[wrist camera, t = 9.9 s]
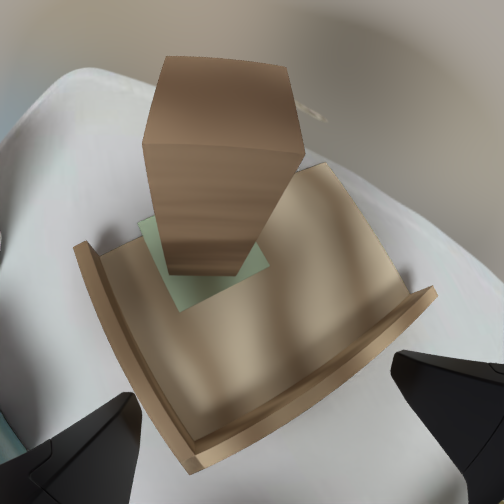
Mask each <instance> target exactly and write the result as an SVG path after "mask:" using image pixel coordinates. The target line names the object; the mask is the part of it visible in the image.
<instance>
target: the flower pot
mask: <svg viewBox="0 0 504 504" xmlns="http://www.w3.org/2000/svg"><path fill="white" fill-rule="evenodd" d="M26 452H27V450H26V449H25V447H24V446H23V445H22V443H21V442H20V441H19V439H18V438H17V436H16V435H15V433H14V432H13V431H12V429H11V428H10V426H9V425H8V423H7V422H6V420H5V418H4V417H3V415H2V413H1V412H0V464H2V463H4V462H6V461H9V460H11V459H13V458H15V457H17V456H20V455H22V454H24V453H26Z"/></svg>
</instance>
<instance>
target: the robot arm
mask: <svg viewBox="0 0 504 504" xmlns="http://www.w3.org/2000/svg"><path fill="white" fill-rule="evenodd" d="M390 372H391V376H392V378H393V380H394V381H395V383H396V385H397V386H398V388H399V390H400V391H401V393H402V395H403V396H404V398H405V400H406V401H407V403H408V404H409V405H410V407H411V408H412V409H413V411H414V412H415V413H416V414H417V416H418V417H419V418H420V420H421V421H422V422H423V423H424V425H425V426H426V427H427V429H428V430H429V431H430V432H431V434H432V435H433V436H434V438H435V439H436V440H437V442H438V443H439V444H440V446H441V447H442V448H443V449H444V451H445V452H446V453H447V455H448V456H449V457H450V459H451V460H452V461H453V463H454V464H455V466H456V467H457V468H458V470H459V471H460V472H461V474H462V475H463V476H464V478H465V480H466V483H467V489H468V503H469V504H499V503H500V502H501V501H502V500H503V501H504V364H497V363H486V362H478V361H471V360H463V359H457V358H450V357H443V356H437V355H431V354H425V353H419V352H414V351H408V350H402V351H399V352H396V353H395V354H394V357H393V362H392V366H391V370H390ZM141 424H142V410H141V408H140V405H139V403H138V400H137V398H136V396H135V394H134V393H133V392H123V393H121V394H119V395H118V396H116V397H115V398H113V399H112V400H110V401H109V402H107V403H106V404H104V405H103V406H101V407H100V408H98V409H97V410H95V411H93V412H92V413H90V414H89V415H87V416H86V417H84V418H83V419H81V420H80V421H78V422H76V423H75V424H73V425H72V426H70V427H69V428H67V429H65V430H64V431H62V432H61V433H59V434H57V435H56V436H54V437H53V438H51V439H49V440H47V441H45V442H44V443H42V444H40V445H39V446H37V447H35V448H33V449H32V450H30V451H28V452H26V453H24V454H22V455H20V456H17V457H15V458H13V459H11V460H9V461H6V462H4V463H2V464H0V504H129V500H130V494H131V489H132V484H133V478H134V473H135V468H136V464H137V459H138V454H139V448H140V436H141Z"/></svg>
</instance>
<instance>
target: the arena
mask: <svg viewBox="0 0 504 504" xmlns="http://www.w3.org/2000/svg"><path fill="white" fill-rule="evenodd" d="M138 226H139V228H140V231H141V233H142V235H143V236H141V237H139V238H137V239H135V240H133V241H130V242H128V243H126V244H124V245H122V246H120V247H118V248H116V249H114V250H112V251H110V252H107V253H105V254H103V255H101V256H99V255H98V254H97V253H96V252H95V250H94V249H93V248H92V247H91V245H90V244H89V243H88V242H87V240H86V241H84V242H82V243H80V244H78V245H76V246H74V247H73V249H74V252H75V256H76V259H77V262H78V265H79V268H80V271H81V274H82V277H83V279H84V282H85V285H86V288H87V290H88V293H89V296H90V298H91V301H92V303H93V306H94V308H95V311H96V313H97V316H98V318H99V320H100V323H101V325H102V327H103V330H104V332H105V334H106V336H107V339H108V341H109V343H110V345H111V347H112V349H113V351H114V353H115V356H116V358H117V360H118V362H119V364H120V366H121V368H122V369H123V371H124V373H125V375H126V377H127V379H128V381H129V383H130V385H131V386H132V388H133V390H134V392H135V394H136V395H137V397H138V399H139V401H140V402H141V404H142V406H143V407H144V409H145V411H146V412H147V414H148V416H149V417H150V419H151V421H152V422H153V424H154V425H155V427H156V428H157V430H158V432H159V433H160V435H161V436H162V438H163V439H164V441H165V442H166V444H167V445H168V446H169V448H170V449H171V451H172V452H173V454H174V455H175V456H176V458H177V459H178V461H179V462H180V463H181V465H182V466H183V467H184V469H185V470H186V471H187V473H188V474H189V475H192V474H194V473H196V472H198V471H201V470H203V469H205V468H207V467H209V466H211V465H213V464H215V463H217V462H220V461H222V460H224V459H225V458H227V457H229V456H231V455H233V454H235V453H237V452H239V451H241V450H243V449H244V448H246V447H248V446H250V445H252V444H253V443H255V442H257V441H259V440H260V439H262V438H264V437H265V436H267V435H269V434H270V433H272V432H274V431H275V430H277V429H279V428H280V427H282V426H283V425H285V424H287V423H288V422H290V421H291V420H293V419H294V418H296V417H297V416H299V415H300V414H302V413H303V412H305V411H306V410H308V409H309V408H311V407H312V406H313V405H315V404H316V403H318V402H319V401H321V400H322V399H323V398H325V397H326V396H327V395H329V394H330V393H331V392H333V391H334V390H335V389H337V388H338V387H339V386H341V385H342V384H343V383H345V382H346V381H347V380H348V379H350V378H351V377H352V376H353V375H355V374H356V373H357V372H358V371H360V370H361V369H362V368H363V367H364V366H366V365H367V364H368V363H369V362H370V361H371V360H373V359H374V358H375V357H376V356H377V355H378V354H380V353H381V352H382V351H383V350H384V349H385V348H386V347H387V346H388V345H390V344H391V343H392V342H393V341H394V340H395V339H396V338H397V337H398V336H399V335H400V334H401V333H402V332H403V331H405V330H406V329H407V328H408V327H409V326H410V325H411V324H412V323H413V322H414V321H415V320H416V319H417V318H418V317H419V316H420V315H421V314H422V313H423V312H424V310H425V309H426V308H427V307H428V306H429V305H430V304H431V303H432V302H433V301H434V300H435V299H436V298H437V297H438V294H437V292H436V290H435V289H434V287H433V285H432V286H430V287H427V288H425V289H422V290H420V291H417V292H414V293H412V294H410V293H409V291H408V290H407V288H406V286H405V284H404V282H403V281H402V279H401V277H400V275H399V273H398V272H397V270H396V268H395V266H394V265H393V263H392V261H391V260H390V258H389V256H388V254H387V253H386V251H385V249H384V248H383V246H382V244H381V243H380V241H379V240H378V238H377V236H376V235H375V233H374V232H373V230H372V228H371V227H370V225H369V224H368V222H367V221H366V219H365V218H364V216H363V215H362V213H361V212H360V210H359V209H358V207H357V206H356V204H355V203H354V201H353V200H352V198H351V197H350V195H349V194H348V192H347V191H346V190H345V188H344V187H343V185H342V184H341V182H340V181H339V180H338V178H337V177H336V175H335V174H334V173H333V171H332V170H331V169H330V167H329V166H328V165H327V163H326V162H325V163H322V164H319V165H316V166H313V167H310V168H308V169H305V170H302V171H299V172H296V173H295V174H294V175H293V177H292V179H291V181H290V182H289V184H288V186H287V188H286V189H285V191H284V193H283V195H282V196H281V198H280V200H279V202H278V203H277V205H276V207H275V209H274V210H273V212H272V214H271V216H270V218H269V219H268V221H267V223H266V225H265V226H264V228H263V230H262V232H261V233H260V235H259V237H258V239H257V240H256V242H255V244H254V246H253V247H252V249H251V251H250V253H249V254H248V256H247V258H246V260H245V261H244V263H243V265H242V267H241V268H240V270H239V272H238V274H237V275H236V276H177V275H169V273H168V269H167V265H166V261H165V257H164V253H163V249H162V245H161V240H160V236H159V232H158V227H157V223H156V218H155V215H154V216H152V217H150V218H147V219H145V220H143V221H141V222H139V223H138Z"/></svg>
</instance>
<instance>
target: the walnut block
mask: <svg viewBox="0 0 504 504" xmlns="http://www.w3.org/2000/svg"><path fill="white" fill-rule="evenodd" d="M142 147H143V154H144V160H145V166H146V172H147V177H148V183H149V188H150V193H151V198H152V203H153V208H154V213H155V218H156V223H157V227H158V232H159V236H160V240H161V245H162V249H163V253H164V257H165V261H166V265H167V269H168V273H169V275H177V276H236V275H237V274H238V272H239V270H240V268H241V267H242V265H243V263H244V261H245V260H246V258H247V256H248V254H249V253H250V251H251V249H252V247H253V246H254V244H255V242H256V240H257V239H258V237H259V235H260V233H261V232H262V230H263V228H264V226H265V225H266V223H267V221H268V219H269V218H270V216H271V214H272V212H273V210H274V209H275V207H276V205H277V203H278V202H279V200H280V198H281V196H282V195H283V193H284V191H285V189H286V188H287V186H288V184H289V182H290V181H291V179H292V177H293V175H294V174H295V172H296V170H297V168H298V167H299V165H300V163H301V161H302V160H303V158H304V156H305V149H304V144H303V139H302V134H301V129H300V125H299V120H298V115H297V111H296V106H295V102H294V97H293V93H292V89H291V84H290V80H289V76H288V73H287V68H286V67H283V66H277V65H271V64H265V63H258V62H250V61H242V60H233V59H222V58H208V57H187V56H166V58H165V61H164V64H163V67H162V70H161V73H160V77H159V80H158V83H157V87H156V90H155V93H154V97H153V101H152V104H151V108H150V112H149V116H148V120H147V124H146V128H145V132H144V137H143V141H142Z"/></svg>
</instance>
